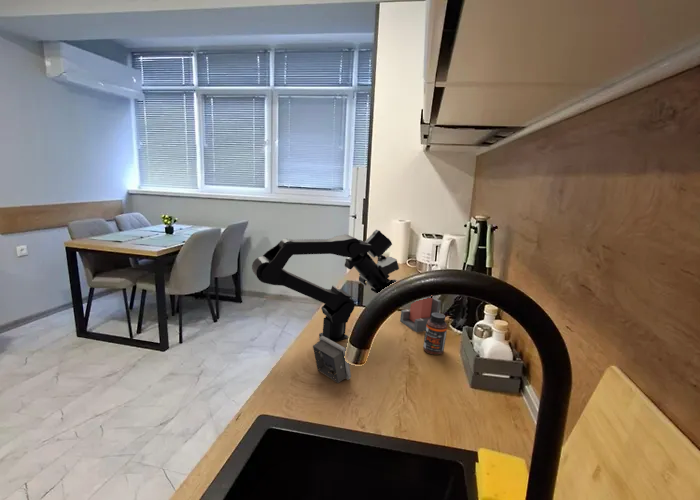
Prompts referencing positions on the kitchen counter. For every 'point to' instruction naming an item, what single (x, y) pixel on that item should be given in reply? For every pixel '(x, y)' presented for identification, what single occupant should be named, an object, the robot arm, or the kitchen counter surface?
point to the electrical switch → (331, 359)
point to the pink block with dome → (420, 309)
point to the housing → (420, 323)
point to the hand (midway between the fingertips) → (393, 299)
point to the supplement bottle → (435, 334)
